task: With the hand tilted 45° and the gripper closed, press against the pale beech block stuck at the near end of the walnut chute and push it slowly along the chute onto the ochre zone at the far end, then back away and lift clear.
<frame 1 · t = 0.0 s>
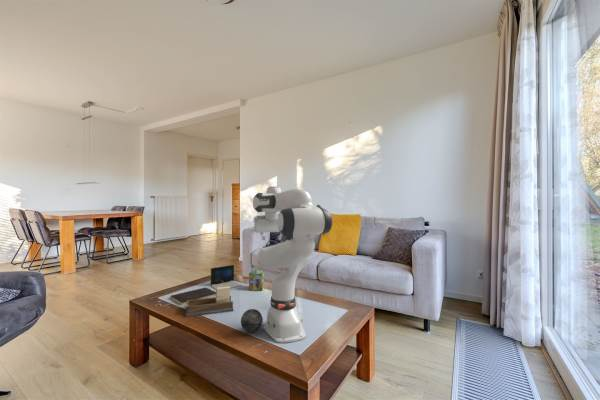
hand: (271, 239, 153), 39 cm above the table, tool pointing down, fingers open, 8 cm apart
hardcover book: (194, 298, 169), on the table
laptop: (226, 286, 191), on the table
decorative stone: (251, 331, 126), on the table
chalk box: (256, 288, 187), on the table
stuck block: (222, 295, 154), point 6 cm above the table, slide at 0.0 cm
chute: (209, 308, 151), on the table
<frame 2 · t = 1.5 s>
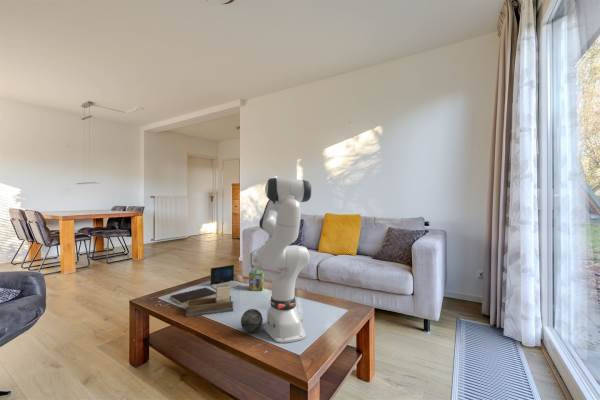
hand: (255, 263, 160), 24 cm above the table, tool tilted 45°, fingers open, 6 cm apart
nothing on the table moved.
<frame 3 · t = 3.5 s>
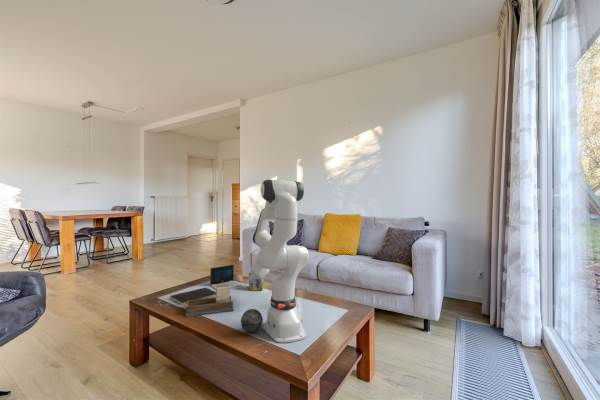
hand: (249, 279, 159), 14 cm above the table, tool tilted 45°, fingers closed
nothing on the table moved.
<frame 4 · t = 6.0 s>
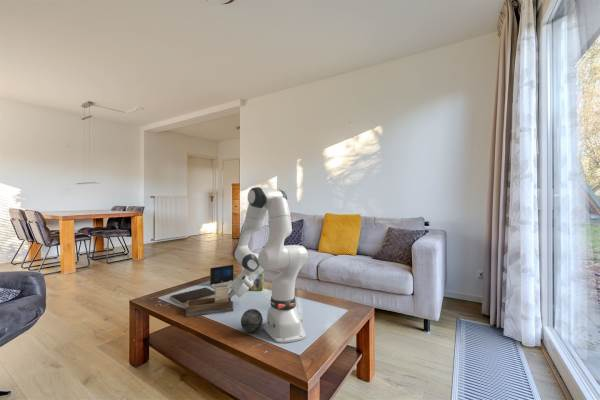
hand: (228, 296, 155), 5 cm above the table, tool tilted 45°, fingers closed, pressing on stuck block
stuck block: (221, 295, 153), point 6 cm above the table, slide at 0.7 cm, touching gripper
everything else where it was.
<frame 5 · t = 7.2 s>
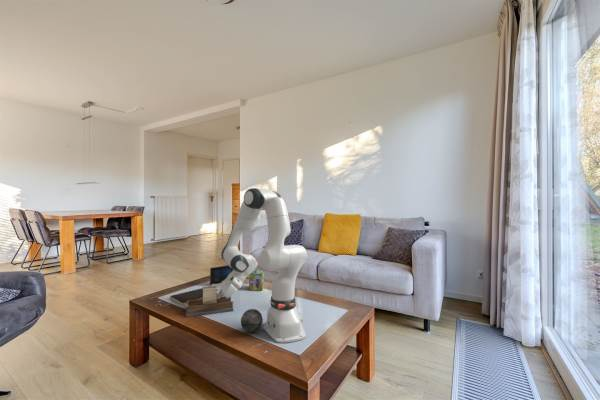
hand: (217, 297, 153), 5 cm above the table, tool tilted 45°, fingers closed, pressing on stuck block
stuck block: (209, 297, 151), point 6 cm above the table, slide at 7.1 cm, touching gripper
everything else where it was.
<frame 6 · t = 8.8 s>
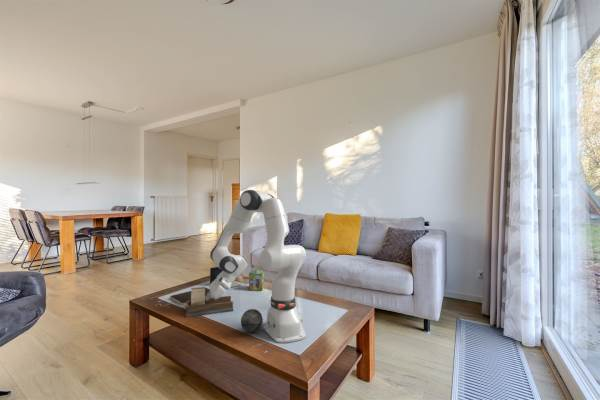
hand: (205, 299, 151), 5 cm above the table, tool tilted 45°, fingers closed, pressing on stuck block
stuck block: (198, 298, 149), point 6 cm above the table, slide at 13.2 cm, touching gripper
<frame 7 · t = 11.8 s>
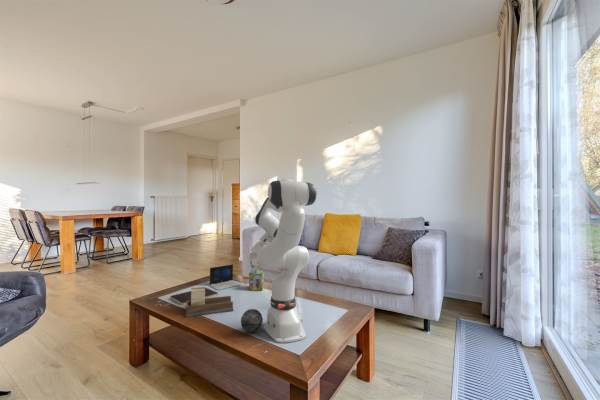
hand: (250, 259, 155), 27 cm above the table, tool tilted 45°, fingers closed
stuck block: (198, 298, 149), point 6 cm above the table, slide at 13.2 cm
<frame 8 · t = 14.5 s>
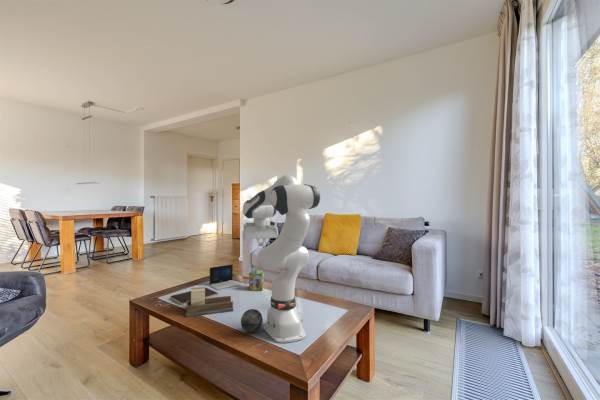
hand: (260, 245, 160), 34 cm above the table, tool pointing down, fingers closed
at the end: stuck block slide at 13.2 cm; hardcover book moved 0.9 cm from its start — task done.
